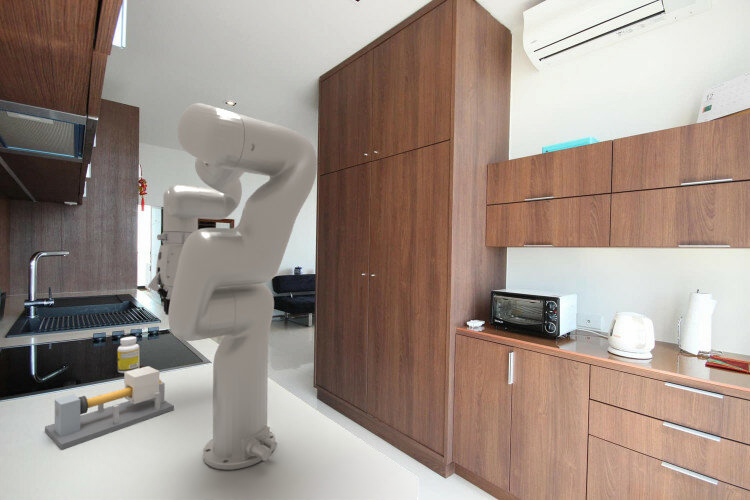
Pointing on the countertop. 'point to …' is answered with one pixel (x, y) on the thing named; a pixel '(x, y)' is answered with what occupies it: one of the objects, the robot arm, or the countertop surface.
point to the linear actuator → (101, 415)
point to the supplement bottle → (128, 355)
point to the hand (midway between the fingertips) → (180, 312)
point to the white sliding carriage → (142, 383)
